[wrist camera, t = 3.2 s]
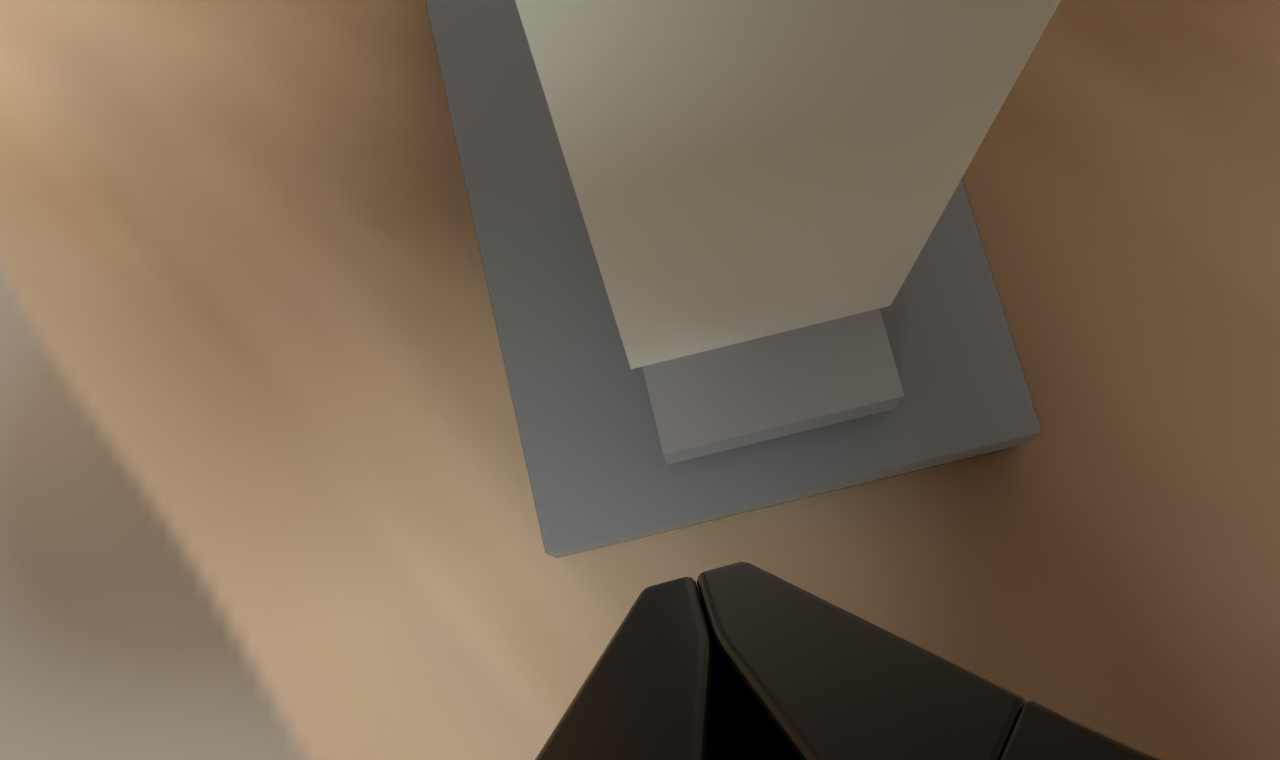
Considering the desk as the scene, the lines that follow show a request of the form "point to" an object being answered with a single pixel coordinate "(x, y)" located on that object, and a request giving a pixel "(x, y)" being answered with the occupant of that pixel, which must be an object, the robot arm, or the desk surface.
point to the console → (616, 394)
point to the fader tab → (768, 185)
